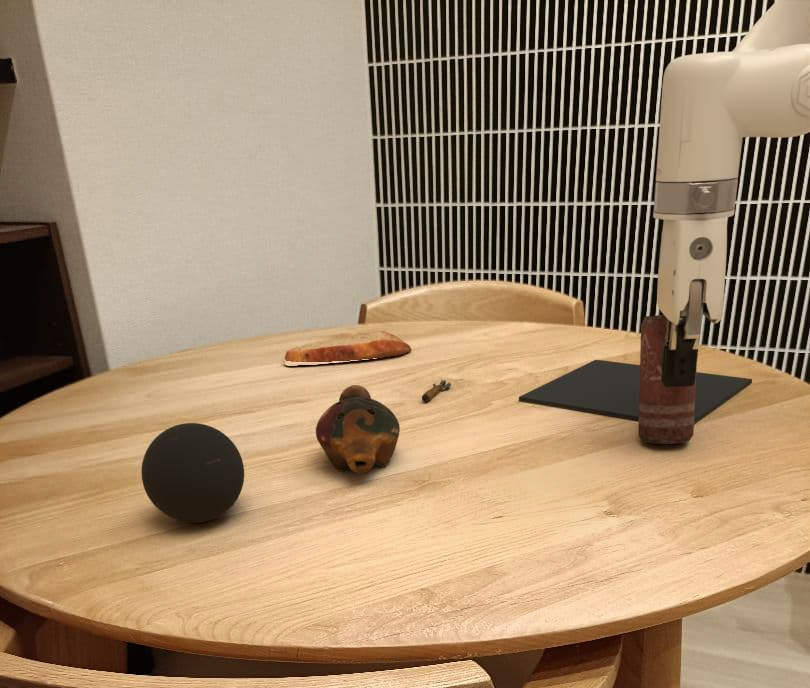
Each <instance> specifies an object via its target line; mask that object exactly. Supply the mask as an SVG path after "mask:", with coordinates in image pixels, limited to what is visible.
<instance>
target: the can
mask: <svg viewBox="0 0 810 688" xmlns="http://www.w3.org/2000/svg"><path fill="white" fill-rule="evenodd" d="M665 331H666V316H665V315H664V314H660V315H648V316H647V315H645V316H644V319H643V320H642V322H641V324H640V350H639V351H640V352H639V353H640V354H639V365H640V385H639V421H637V422H638V426H637V427H638V429H637V435H638V438H639V439H640V441H642V442H643V443H648V444H659V445H673V444H683V443H686V442H690V441H691V439H692V438H693V436H694V430H695V424H694V412H695V390H696V376H695V384H694V385H693V386H684V387H665V386H664V384H663V383H662V381H661V376H662V364H663V351H664V346H669V345H665ZM697 366H698V365H697ZM697 366H696V370H697V369H698V368H697Z"/></svg>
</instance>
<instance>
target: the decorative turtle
mask: <svg viewBox="0 0 810 688" xmlns="http://www.w3.org/2000/svg"><path fill="white" fill-rule="evenodd" d="M400 427H401V426H400V422H399V420H398V418H397V417H396V415H395V414H394V412H393V411H392V410H391V409H390V408H388V406H386V405H385V404H383V403H382V402H380V401H378V400H376V399H373V398H372V397H371V394H370V392H369V391H368V389H367V388H365V387H364V386H362V385H359V384H352V385H349V386H347V387H346V388H345V389H343V390H342V392H340V396H339V399H338V401H337V402H335V403H333V404H332V405H331V406H329V407H328V408H327V409H325V411H324V412H323V413H322V415H321V416H320V417H319V419H318V421H317V423H316V427H315V436H316V439H317V441H318V443H319V446H320V447H321V449H322V450H323V452H324V454H325V456H326V457H327V458H328V460H329V462H330V464H331V465H332V467H333V468H334V469H335V470H337V471H339V470H344V471H345V470H346V469H348V467H349V469H350V470H351V471H352V472H354V473H357V474H363V473H367V472H369V471H370V470H372V468H374V465H377V466H379V467H380V466H381V467H386V466H388V465H389V463H390V462H391V460H392V458H393V456H394V452H395V450H396V446H397V444H398V440H399V437H400V431H401V428H400Z"/></svg>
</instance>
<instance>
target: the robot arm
mask: <svg viewBox="0 0 810 688" xmlns="http://www.w3.org/2000/svg"><path fill="white" fill-rule="evenodd" d="M662 78H663V79H662V87H661V88H662V90H661V102H660V103H661V104H660V118H659V132H658V146H657V147H658V148H657V160H656V161H657V162H656V173H655V174H656V175H655V185H654V198H653V199H654V201H653V214H652V217H653V218H654V219H655V220H661V221H662V220H663V221H662V222H663V224H662V232H661V241H660V249H659V251H660V252H659V261H658V273H657V289H656V301H657V307H658V309H659V310H660V312H661V313H662V315H665V316H666V331H665V345H669V346H664V351H663V364H662V376H661V381H662V383H663V384H664V386H665V387H684V386H693V385H694V384H695V376H696V372H697V369H696V366H698V356H699V355H698V354H699V345H700V344H699V343H700V338H701V331H702V322H703V317H705V318H706V319H708V321H710V322H711V323H712V324H718V323H719V322H720V321H721V320H722V318H723V314H724V313H723V312H724V302H725V301H724V300H725V299H724V297H725V284H726V272H727V271H726V269H727V268H726V267H727V253H728V250H727V248H728V227H727V226H728V225H727V224H728V223H727V218H730V217H733V216H735V208H736V201H737V200H736V199H737V190H738V183H739V182H738V181H739V172H740V171H739V170H740V162H741V154H742V147H743V138H770V139H771V138H793V137H795V138H796V137H799V136H803V135H806V134H808V133H810V0H776V1H775V2H774V3H773V4H772V5H771V6H770V7H769V8H768V10H766V11H765V12H764V13H763V15H761V17H760V18H759V19H758V20H757V21H756V23H755V24H754V25H753V26H752V27H751V28H750V30H749V31H748V32H747V33H746V34H745V35H744V36H743V37H742V39H741V40H740V41H739V43H738V44H737V45H736V46H735V47H734V49H733V50H731V51H715V52H703V53H702V52H701V53H694V54H693V53H692V54H686V55H682V56H678V57H676V58H674V59H673V60H671V61H670V62H669V63H668V64H667V66H666V68H665V70H664V73H663V77H662Z"/></svg>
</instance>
